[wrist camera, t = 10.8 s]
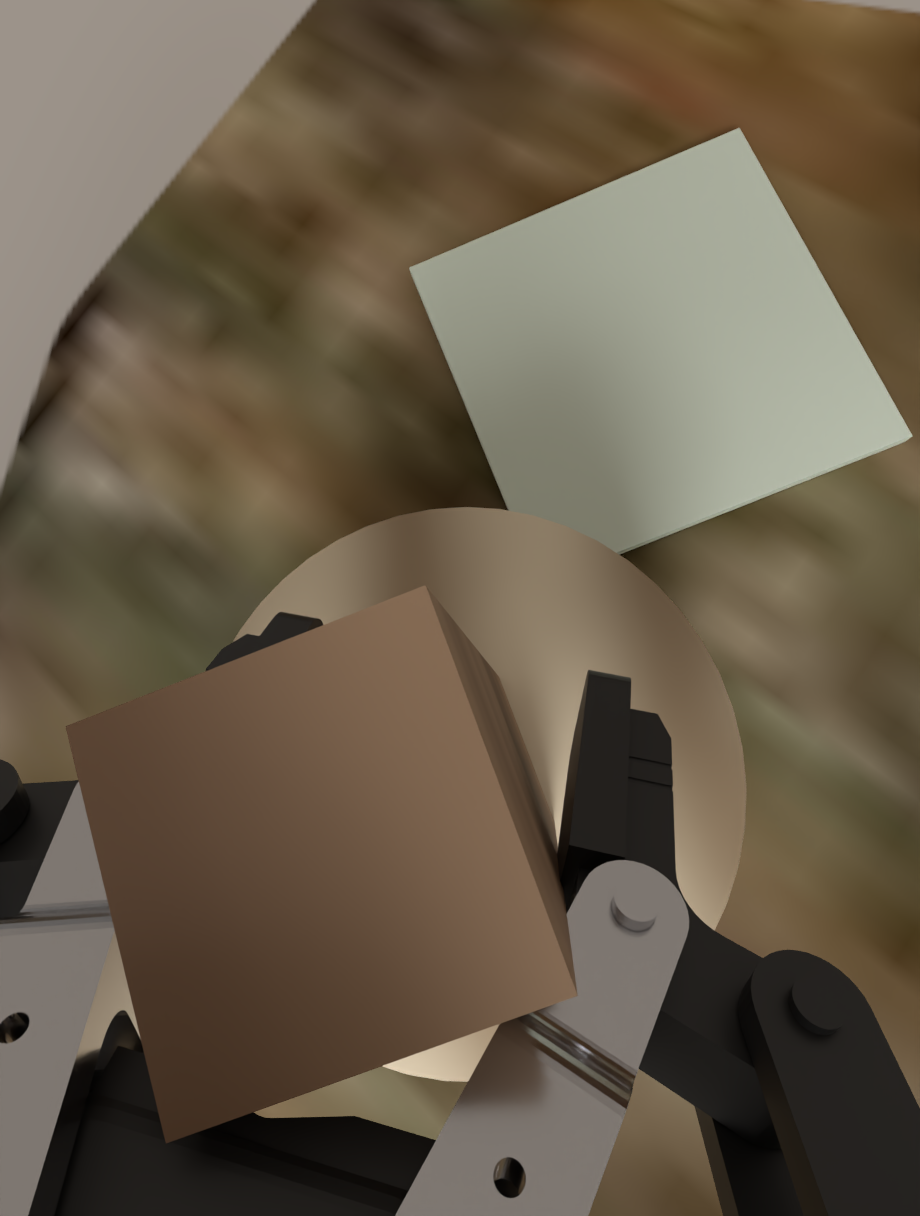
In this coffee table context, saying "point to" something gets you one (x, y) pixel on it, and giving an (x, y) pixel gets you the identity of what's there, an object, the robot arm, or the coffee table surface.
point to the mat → (655, 351)
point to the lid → (386, 808)
